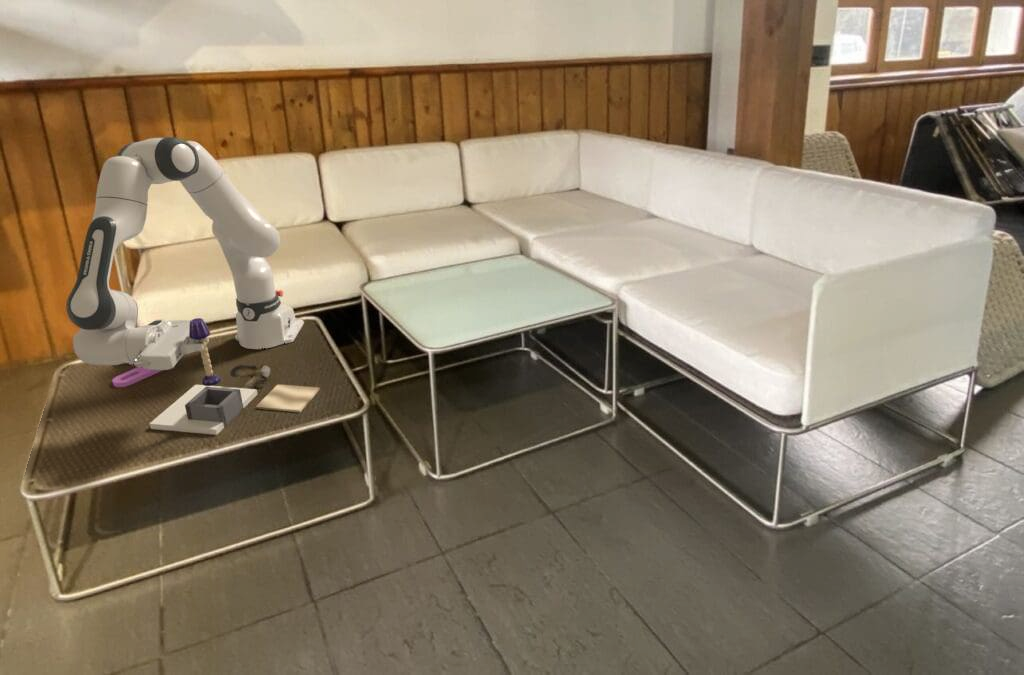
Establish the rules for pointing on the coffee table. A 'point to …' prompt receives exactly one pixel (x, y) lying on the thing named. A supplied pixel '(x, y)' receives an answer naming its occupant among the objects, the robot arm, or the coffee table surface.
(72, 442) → the coffee table surface
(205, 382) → the toy lamp
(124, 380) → the bracket
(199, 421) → the socket board
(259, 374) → the eagle figurine
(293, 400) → the birch pad
